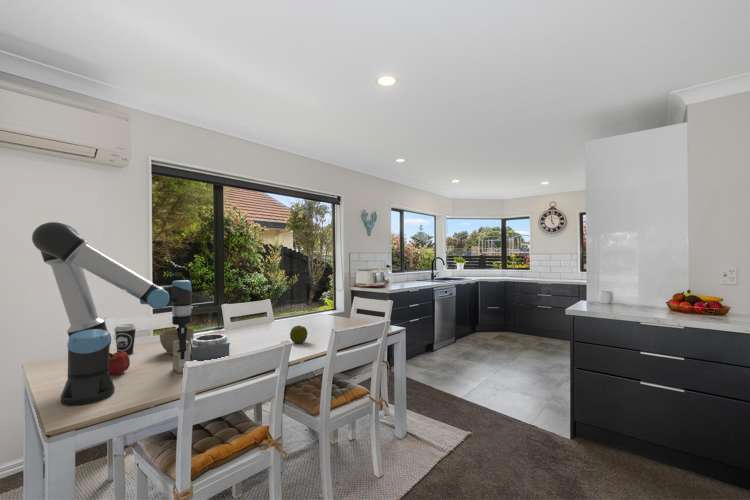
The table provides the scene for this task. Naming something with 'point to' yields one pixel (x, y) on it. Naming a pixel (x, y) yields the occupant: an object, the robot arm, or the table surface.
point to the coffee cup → (125, 337)
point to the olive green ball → (298, 334)
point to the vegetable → (118, 363)
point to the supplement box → (176, 355)
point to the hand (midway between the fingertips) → (181, 362)
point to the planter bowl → (172, 338)
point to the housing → (209, 347)
